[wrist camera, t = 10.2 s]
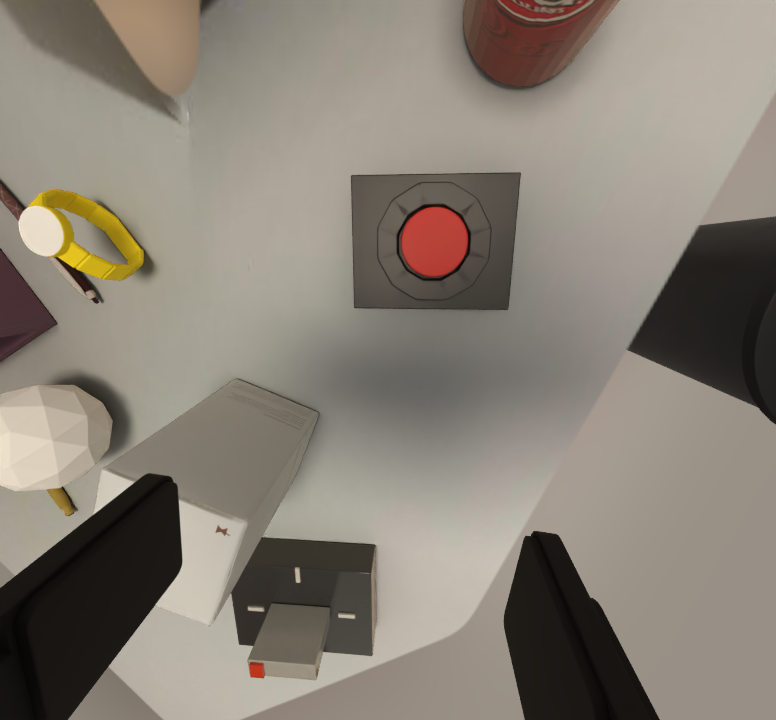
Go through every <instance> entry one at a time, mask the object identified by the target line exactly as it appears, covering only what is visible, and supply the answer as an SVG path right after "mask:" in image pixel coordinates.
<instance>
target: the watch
mask: <svg viewBox="0 0 776 720" xmlns="http://www.w3.org/2000/svg"><path fill="white" fill-rule="evenodd" d="M52 207H53V208H52ZM55 208H60V209H65V210H67V211H69V212H72V213H74V214H76V215H79V216H81V217H83V218H86V219H87V220H89V221H90V222H91V223H93V224H94V225H96V226H97V227H99V228H100V229H102V230H103V231H105V232H106V233H107V235H108V236H109V237H110V239H111V240H112V241H113V243H114V244H115V245H116V246H117V248H118V249H119V250H120V252H121V253H122V254H123V256H124V257H125V258H126V259H127V261H128V264H127V265H123V264H115V263H111V262H109V261H107V260H105V259H102V258H100V257H98V256H96V255H93V254H91V253H89V252H88V251H87V250H85V249H84V248H82V247H81V246H80V245H78V244H77V243H76V242H74V233H73V229H72V226H71V224H70V222H69V221H68V219H67V218H66V216H65V215H63V214H62V213H61V212H60V211H59V210H57V209H55ZM19 232H20V235H21V237H22V240H23V241H24V243H25V244H26V246H27V247H28V248H29V249H30V250H31V251H33V252H34V253H36V254H38V255H41V256H46V257H58V258H60V259H61V260H63V261H64V262H66V263H67V264H69V265H70V266H72V267H73V268H76V269H77V270H79V271H82V272H84V273H87V274H89V275H92V276H94V277H97V278H101V279H105V280H118V281H121V280H124V279H126V278H127V277H129V276H131V275H132V274H133V273H134V272H135V271H137V270H138V269H139V268H140V267H141V266H142V265H143V263H144V250H143V249H141V248H140V247H139V246H138V244H137V243H136V242H135V240H134V239H133V238H132V236H131V235H130V234H129V233H128V231H127V230H126V229H125V227H124V226H123V225H122V223H121V222H120V221H119V219H118V218H117V217H116V216H114V215H113V214H111V213H110V212H109V211H107V210H106V209H105V208H103V207H102V206H100V205H97V203H95V202H93V201H91V200H89V199H87V198H85V197H83V196H81V195H79V194H77V193H74V192H69V191H63V190H58V189H49V190H47V191H45V192H43V193H40V194H39V195H38V196H37V197H36V199H35V200H34V201H33V202H32V203H31V204H30V205H29V206H28V208H27V209H25V210H24V211H23V212H22V214H21V216H20V219H19Z"/></svg>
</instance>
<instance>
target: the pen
mask: <svg viewBox="0 0 776 720" xmlns="http://www.w3.org/2000/svg"><path fill="white" fill-rule="evenodd" d="M0 200H1V201H2V202H3V203H4V205H5V206H6V207H7V208H8V209H9V210H10V211H11V213H12V214H13V215H14V216H15V217H16V218H17V220H18V221H19V219H20V216H21V214H22V212H23V211H24V210H23V209H22V207H21V206H20V205H19V204H18V203H17V202H16V201H15V200H14V198H13V197H12V196H11V195H10V194H9V193H8V192H7V191H6V189H5V188H4V187H3V186H2V185H1V184H0ZM48 258H49V259H50V261H51V262H52V263H53V264H54V265H55V267H56V268H57V269H58V270H59V271H60V273H61V274H62V275H63V276H64V277H65V278H66V279H67V280H68V281H69V282H70V283H71V285H72V286H73V287H74V288H75V289H76V290H77V291H78V292H79V293H81V294H82V295H83V296H85V297H87V298H88V299H90V300H93V302H94V303H99V301H98V300H97V299H96V298H97V297H96V294H95V292H94V291H93V289H92V288H91V287H90V286H89V285H88V283H87V282H86V281H85V280H84V279H83V277H82V276H81V275H80V274H79V273H78V271H77V270H76V269H75V268H73V267H72V266H70V265H69V264H67V263H66V262H64V261H63V260H61V259H60V258H58V257H48Z"/></svg>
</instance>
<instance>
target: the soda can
mask: <svg viewBox="0 0 776 720" xmlns="http://www.w3.org/2000/svg"><path fill="white" fill-rule="evenodd" d="M619 1H620V0H465V2H464V10H463V21H464V33H465V37H466V42H467V45H468V48H469V50H470V52H471V55H472V57H473V58H474V60H475V61H476V63H477V64H478V66H479V67H480V68H481V69H482V70H483V71H484V72H485V73H486V74H487V75H488V76H490V77H491V78H493V79H495V80H497V81H498V82H501V83H504V84H507V85H511V86H528V85H534V84H538V83H540V82H543V81H545V80H548V79H550V78H551V77H553V76H554V75H556V74H558V73H559V72H561V71H562V70H563V69H564V68H565V67H566V66H567V65H568V64H569V63H571V62H572V60H573V59H574V58H575V57H576V55H577V54H578V53H579V52H580V50H581V49H582V48H583V47H584V45H585V44H586V43H587V41H588V40H589V39H590V38H591V36H592V35H593V34H594V33H595V31H596V30H597V29H598V28H599V26H600V25H601V24H602V22H603V21H604V20H605V19H606V17H607V16H608V15H609V14H610V12H611V11H612V10H613V8H614V7H615V6H616V5H617V3H618V2H619Z"/></svg>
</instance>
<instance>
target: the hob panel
mask: <svg viewBox="0 0 776 720" xmlns="http://www.w3.org/2000/svg"><path fill="white" fill-rule="evenodd" d="M231 594H232V601H233V607H234V614H235V621H236V628H237V634H238V641H239V645H249V646H254V644H255V641H256V639H257V637H258V634H259V632H260V630H261V627H262V625H263V623H264V620H265V618H266V615H267V613H268V611H269V608H270V606H271V604H272V603H275V604H289V605H303V606H317V607H329V608H330V625H329V629H328V633H327V638H326V642H325V646H324V650H323V652H331V653H343V654H354V655H366V656H372V655H373V647H374V638H375V629H376V555H375V545H366V544H349V543H333V542H317V541H301V540H285V539H268V538H261V539H260V541H259V543H258V545H257V546H256V548H255V550H254V552H253V554H252V556H251V557H250V559H249V561H248V563H247V565H246V566H245V568H244V570H243V572H242V574H241V575H240V577H239V579H238V581H237V583H236V585H235V586H234V588H233V590H232V592H231Z"/></svg>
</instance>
